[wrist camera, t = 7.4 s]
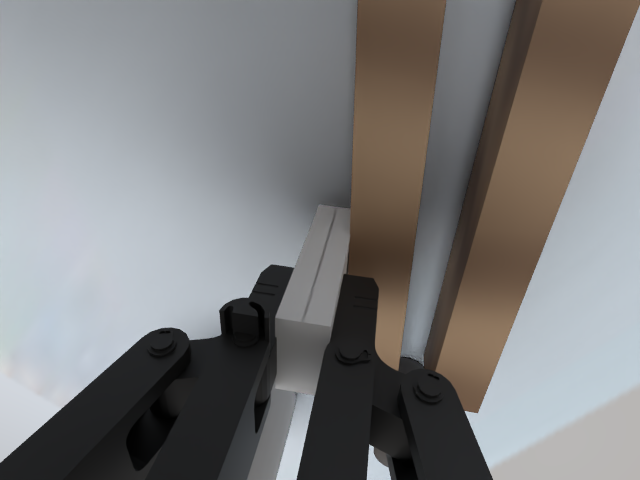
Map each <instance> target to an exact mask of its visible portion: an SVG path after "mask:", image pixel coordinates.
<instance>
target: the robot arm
mask: <svg viewBox="0 0 640 480" xmlns="http://www.w3.org/2000/svg"><path fill="white" fill-rule="evenodd" d="M350 210H351V208H343V207H335V206H327V205H319V206H318V209H317V211H316V214H315V216H314V219H313V221H312V224H311V227H310V229H309V232H308V234H307V237H306V239H305V242H304V245H303V247H302V250H301V252H300V255H299V257H298V260H297V263H296V265H295V268H292V267H286V266H279V265H270V266H269V267H268V268H266V269H265V270H264V271H263V272H261V274H260V276H259V278H258V280H257V282H256V284H255V286H254V288H253V290H252V293H251V294H250V296H249V298H239V299H235V300H232V301H230V302H228V303H226V304H225V305H224V306H223V307H222V308H221V309H220V310H219V313H220V323H221V333H222V334H221V335H220V336H217V337H215V338H209V339H200V340H189V338H188V336H187V334H186V333H185V332H183V331H181V330H180V329H176V328H161V329H158V330H155V331H152V332H150V333H148V334H147V335H145V336H144V337H142V338H141V339H140V340H139V341H138V342H137V343H136V344H134V345H133V346H132V347H131V348H130V349H129V350H128V351H127V352H125V353H124V354H123V355H122V356H121V357H120V358H119V359H117V360H116V361H115V362H114V363H113V364H112V365H111V366H110V367H108V368H107V369H106V370H105V371H104V372H103V373H102V374H101V375H99V376H98V377H97V378H96V379H95V380H94V381H93V382H91V383H90V384H89V385H88V386H87V387H86V388H85V389H84V390H82V391H81V392H80V393H79V394H78V395H77V396H76V397H74V398H73V399H72V400H71V401H70V402H69V403H68V404H67V405H65V406H64V407H63V408H62V409H61V410H60V411H59V412H57V413H56V414H55V415H54V416H53V417H52V418H51V419H50V420H49V421H47V422H46V423H45V424H44V425H43V426H42V427H41V428H39V429H38V430H37V431H36V432H35V433H34V434H33V435H31V436H30V437H29V438H28V439H27V440H26V441H25V442H24V443H22V444H21V445H20V446H19V447H18V448H17V449H16V450H14V451H13V452H12V453H11V454H10V455H9V456H8V457H7V458H5V459H4V460H3V461H2V462H1V463H0V480H247V478H248V475H249V472H250V469H251V465H252V462H253V459H254V456H255V453H256V450H257V447H258V443H259V440H260V437H261V434H262V431H263V428H264V424H265V421H266V418H267V415H268V412H269V409H270V406H271V390H272V387H273V384H274V381H275V388H276V389H281V390H287V391H292V392H298V393H303V394H309V395H314V396H315V397H314V402H313V406H312V411H311V416H310V420H309V425H308V429H307V434H306V439H305V443H304V448H303V453H302V457H301V462H300V466H299V471H298V476H297V480H367V466H368V453H369V444H370V445H372V446H373V447H375V448H377V449H379V450H381V451H383V452H384V453H386V457H387V462H388V467H389V471H390V476H391V480H493V478H492V476H491V474H490V471H489V469H488V466H487V464H486V462H485V459H484V457H483V454H482V452H481V450H480V447H479V445H478V442H477V440H476V438H475V435H474V433H473V430H472V428H471V426H470V423H469V421H468V418H467V416H466V414H465V411H464V409H463V406H462V404H461V402H460V399H459V397H458V394H457V392H456V390H455V388H454V387H453V385H452V384H451V382H450V381H449V380H448V379H447V378H445V377H444V376H443V375H442V374H439V373H437V372H435V371H433V370H428V369H416V370H411V371H410V372H409V373H407V374H404V373H401V372H399V371H397V370H395V369H393V368H391V367H390V366H388V365H387V364H385V363H384V362H383V361H382V360H381V359H380V357H379V356H378V354H377V352H376V349H375V336H376V323H377V310H378V297H379V288H378V286H377V284H376V282H375V280H374V278H369V277H362V276H355V275H348V267H349V242H350Z"/></svg>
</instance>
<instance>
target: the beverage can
mask: <svg viewBox="0 0 640 480" xmlns="http://www.w3.org/2000/svg"><path fill="white" fill-rule="evenodd" d="M295 405H296V396H295V392H292V391H287V390H281V389H276V388H275V381H274V384H273V387H272V390H271V406H270V409H269V412H268V415H267V418H266V421H265V424H264V428H263V431H262V434H261V437H260V440H259V443H258V447H257V450H256V453H255V456H254V459H253V462H252V465H251V469H250V472H249V475H248V478H247V480H276V477H277V473H278V469H279V466H280V462H281V458H282V454H283V451H284V447H285V443H286V439H287V436H288V432H289V428H290V425H291V421H292V417H293V413H294V410H295Z"/></svg>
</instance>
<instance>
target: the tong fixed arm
mask: <svg viewBox="0 0 640 480" xmlns="http://www.w3.org/2000/svg"><path fill="white" fill-rule="evenodd" d="M639 5H640V0H516V4H515V8H514V11H513V15H512V19H511V23H510V27H509V31H508V34H507V38H506V42H505V46H504V50H503V54H502V57H501V61H500V65H499V69H498V73H497V77H496V81H495V84H494V88H493V92H492V96H491V100H490V104H489V107H488V111H487V115H486V119H485V123H484V127H483V130H482V134H481V138H480V142H479V146H478V150H477V154H476V157H475V161H474V165H473V169H472V173H471V177H470V180H469V184H468V188H467V192H466V196H465V200H464V203H463V207H462V211H461V215H460V219H459V223H458V227H457V230H456V234H455V238H454V242H453V246H452V250H451V253H450V257H449V261H448V265H447V269H446V273H445V276H444V280H443V284H442V288H441V292H440V296H439V300H438V303H437V307H436V311H435V315H434V319H433V323H432V326H431V330H430V334H429V338H428V342H427V346H426V349H425V353H424V367H423V366H422V365H421V364H420V363H418V362H417V361H415V360H413V359H409V358H403V357H400V361H399V369H398V371H399V372H401V373H404V374H407V373H409V372H410V371H411V370H416V369H428V370H433V371H435V372H437V373H439V374H442V375H443V376H444V377H445V378H447V379H448V380H449V381H450V382H451V384H452V385H453V387H454V388H455V390H456V392H457V394H458V397H459V399H460V402H461V404H462V406H463V409H464V411H469V412H474V413H478V411H479V409H480V406H481V404H482V401H483V399H484V396H485V394H486V391H487V389H488V386H489V384H490V381H491V378H492V376H493V373H494V371H495V368H496V366H497V363H498V361H499V358H500V356H501V353H502V351H503V348H504V346H505V343H506V341H507V338H508V336H509V333H510V331H511V328H512V325H513V323H514V320H515V318H516V315H517V313H518V310H519V308H520V305H521V303H522V300H523V298H524V295H525V293H526V290H527V288H528V285H529V283H530V280H531V278H532V275H533V273H534V270H535V267H536V265H537V262H538V260H539V257H540V255H541V252H542V250H543V247H544V245H545V242H546V240H547V237H548V235H549V232H550V230H551V227H552V225H553V222H554V220H555V217H556V214H557V212H558V209H559V207H560V204H561V202H562V199H563V197H564V194H565V192H566V189H567V187H568V184H569V182H570V179H571V177H572V174H573V172H574V169H575V167H576V164H577V162H578V159H579V156H580V154H581V151H582V149H583V146H584V144H585V141H586V139H587V136H588V134H589V131H590V129H591V126H592V124H593V121H594V119H595V116H596V114H597V111H598V109H599V106H600V103H601V101H602V98H603V96H604V93H605V91H606V88H607V86H608V83H609V81H610V78H611V76H612V73H613V71H614V68H615V66H616V63H617V61H618V58H619V56H620V53H621V51H622V48H623V45H624V43H625V40H626V38H627V35H628V33H629V30H630V28H631V25H632V23H633V20H634V18H635V15H636V13H637V10H638V8H639ZM374 455H375V457H376V458H377V460H378V461H379V462H380V463H382V464H383V465H385V466H387V467H388V462H387V457H386V453H384V452H383V451H381V450H379V449H377V448H375V447H374Z"/></svg>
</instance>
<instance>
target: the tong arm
mask: <svg viewBox="0 0 640 480" xmlns="http://www.w3.org/2000/svg"><path fill="white" fill-rule="evenodd" d="M445 7H446V0H358V11H357V39H356V68H355V96H354V125H353V153H352V182H351V210H350V242H349V267H348V275H355V276H362V277H369V278H374V280H375V282H376V284H377V286H378V288H379V297H378V310H377V323H376V336H375V349H376V352H377V354H378V356H379V357H380V359H381V360H382V361H383V362H384V363H385V364H387V365H388V366H390V367H391V368H393V369H395V370H397V371H398V369H399V361H400V354H401V346H402V338H403V330H404V323H405V315H406V307H407V300H408V292H409V284H410V276H411V269H412V261H413V253H414V246H415V238H416V230H417V222H418V215H419V207H420V199H421V192H422V184H423V176H424V168H425V161H426V153H427V145H428V138H429V130H430V122H431V115H432V107H433V99H434V91H435V84H436V76H437V68H438V61H439V53H440V45H441V37H442V30H443V22H444V14H445Z"/></svg>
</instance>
